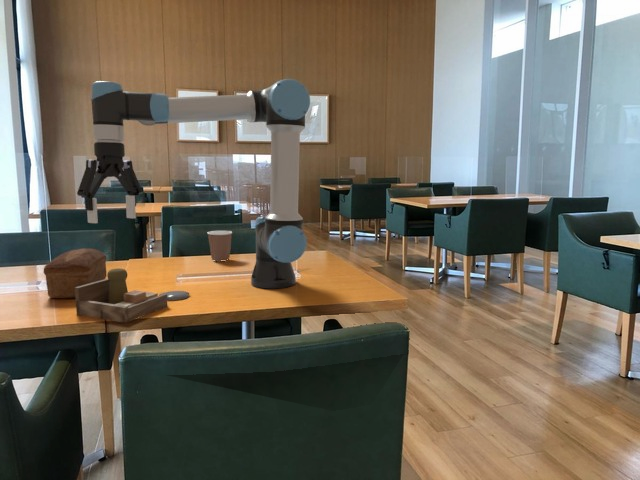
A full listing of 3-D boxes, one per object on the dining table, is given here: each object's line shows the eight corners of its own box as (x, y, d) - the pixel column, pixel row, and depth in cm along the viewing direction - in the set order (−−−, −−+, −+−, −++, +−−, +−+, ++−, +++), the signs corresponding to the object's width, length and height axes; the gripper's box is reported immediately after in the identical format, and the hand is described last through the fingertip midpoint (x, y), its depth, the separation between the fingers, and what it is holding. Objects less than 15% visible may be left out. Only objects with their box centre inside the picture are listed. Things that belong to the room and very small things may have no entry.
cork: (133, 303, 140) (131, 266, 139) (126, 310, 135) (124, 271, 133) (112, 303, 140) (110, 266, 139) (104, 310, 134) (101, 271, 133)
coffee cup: (238, 259, 206) (237, 231, 204) (221, 263, 197) (220, 234, 195) (220, 257, 211) (219, 229, 209) (202, 261, 202) (201, 232, 200)
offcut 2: (146, 311, 134) (145, 291, 133) (136, 315, 130) (135, 295, 129) (135, 309, 135) (134, 290, 135) (124, 313, 132) (123, 293, 131)
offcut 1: (135, 315, 130) (134, 303, 129) (123, 320, 126) (123, 307, 126) (123, 314, 131) (122, 301, 131) (112, 318, 128) (111, 305, 127)
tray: (167, 306, 138) (166, 280, 137) (125, 322, 124) (123, 294, 123) (121, 299, 145) (120, 275, 144) (76, 314, 130) (74, 287, 129)
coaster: (195, 294, 151) (195, 292, 151) (176, 301, 143) (176, 299, 143) (172, 291, 154) (171, 289, 154) (152, 298, 146) (152, 296, 146)
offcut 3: (158, 306, 138) (157, 293, 138) (148, 310, 134) (147, 296, 134) (147, 305, 140) (146, 291, 139) (137, 308, 136) (136, 295, 135)
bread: (40, 302, 142) (36, 261, 140) (69, 279, 169) (66, 245, 167) (91, 300, 145) (88, 259, 143) (111, 278, 172) (109, 244, 170)
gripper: (132, 144, 143) (135, 215, 146) (58, 139, 120) (63, 224, 123) (152, 144, 140) (155, 217, 143) (80, 139, 117) (85, 226, 121)
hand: (112, 220), depth 133 cm, fingers open, 13 cm apart
